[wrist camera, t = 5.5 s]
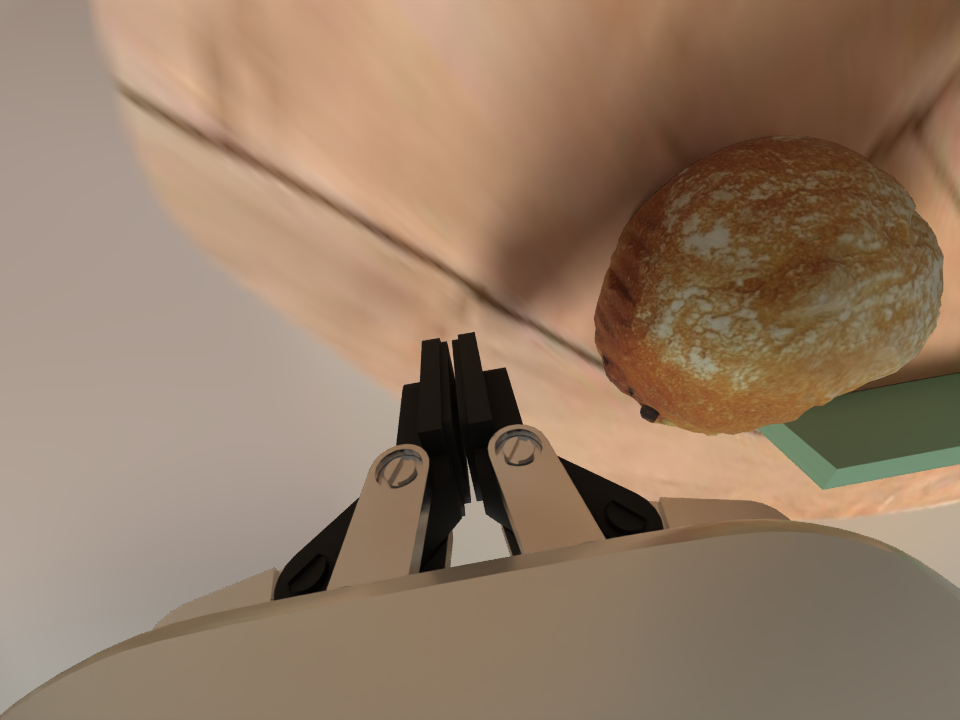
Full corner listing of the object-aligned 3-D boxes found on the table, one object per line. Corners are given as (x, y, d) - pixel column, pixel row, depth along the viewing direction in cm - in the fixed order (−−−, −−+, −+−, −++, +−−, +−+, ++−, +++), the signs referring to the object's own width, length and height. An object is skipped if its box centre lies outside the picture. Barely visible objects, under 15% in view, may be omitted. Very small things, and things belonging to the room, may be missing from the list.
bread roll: (774, 235, 17) (1084, 184, 10) (702, 430, 18) (936, 525, 10) (613, 146, 14) (877, -31, 7) (535, 384, 15) (692, 470, 7)
